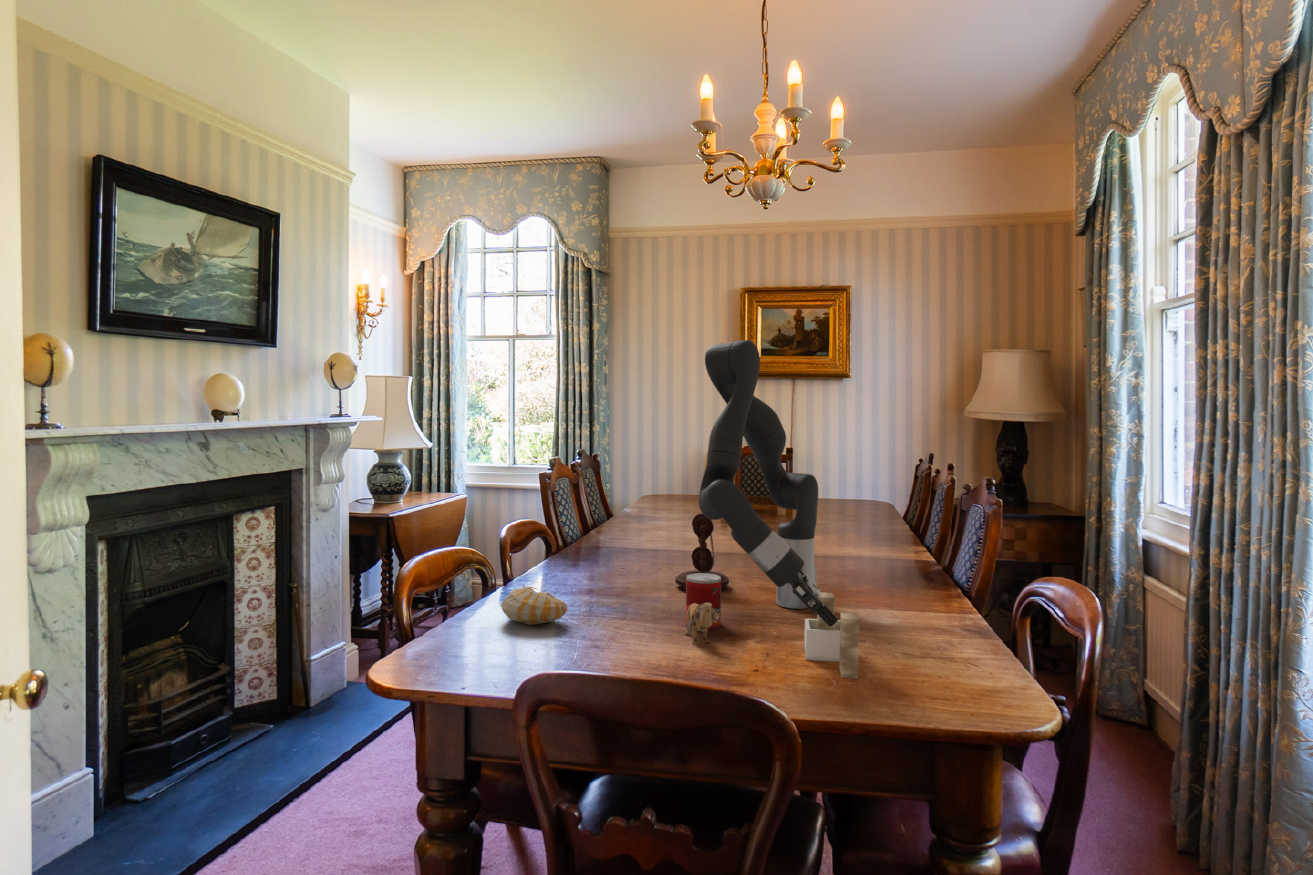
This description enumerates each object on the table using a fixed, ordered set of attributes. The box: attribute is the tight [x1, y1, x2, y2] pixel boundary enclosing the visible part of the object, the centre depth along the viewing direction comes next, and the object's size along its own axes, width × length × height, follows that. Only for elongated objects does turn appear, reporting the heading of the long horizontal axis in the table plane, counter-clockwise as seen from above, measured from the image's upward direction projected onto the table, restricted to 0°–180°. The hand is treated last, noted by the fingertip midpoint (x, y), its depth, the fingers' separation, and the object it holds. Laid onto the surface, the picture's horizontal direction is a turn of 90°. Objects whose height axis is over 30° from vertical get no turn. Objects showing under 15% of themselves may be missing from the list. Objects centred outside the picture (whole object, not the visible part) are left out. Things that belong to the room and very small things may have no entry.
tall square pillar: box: [816, 591, 836, 630], centre depth 149 cm, size 3×4×11 cm
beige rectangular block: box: [838, 612, 860, 680], centre depth 138 cm, size 3×4×11 cm
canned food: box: [685, 573, 722, 630], centre depth 169 cm, size 8×8×11 cm
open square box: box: [803, 618, 840, 663], centre depth 149 cm, size 8×8×6 cm
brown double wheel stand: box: [674, 513, 730, 592], centre depth 203 cm, size 15×15×20 cm
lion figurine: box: [684, 603, 720, 645], centre depth 159 cm, size 15×5×9 cm, turn 18°
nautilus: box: [500, 583, 568, 626], centre depth 172 cm, size 8×22×15 cm
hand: (832, 617), depth 149 cm, fingers open, 8 cm apart
